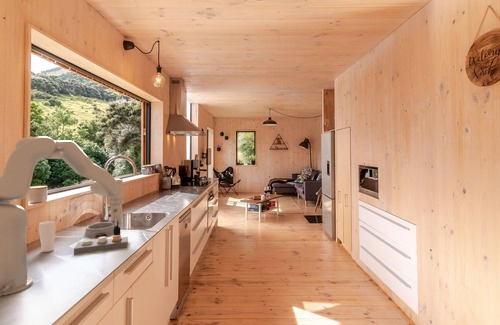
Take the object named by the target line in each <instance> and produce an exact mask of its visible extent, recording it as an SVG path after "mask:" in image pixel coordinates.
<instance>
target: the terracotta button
mask: <svg viewBox="0 0 500 325" xmlns="http://www.w3.org/2000/svg"><path fill="white" fill-rule="evenodd" d="M121 237H122V235H121V234H120V235H116V236H114V235H113V236H112V238H113V242H118V241H121Z"/></svg>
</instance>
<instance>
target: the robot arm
mask: <svg viewBox="0 0 500 325" xmlns="http://www.w3.org/2000/svg"><path fill="white" fill-rule="evenodd" d="M42 159H43V160H44V159H45V160H46V159H49V160H50V159H51V160H63V161H64V162H65V164H66V165H68V166H69V167H70V168H71V169H72V171H73V172H74V173H76V174H77V175H79V176H80V177H84V178H86V179H89V180H92V181H93V182H92V183H91V184H90V186H89V188H90V191H91V192H92V193H93V194H95V195H98V196H99V195H101V196H102V195H103V196H104V195H105V196H107V205H108V206H110V218H111V219H110V220H111V221H110V222H112V224H114V228H113V229H114V234H113V236H116V235H121V224H122V223H123V219H124V218H123V216H124V215H123V205H124V181H123V179H121V178H115V177H114V176H113V175H112V174H111V173H110V172H108V171H107V170H106V169H104V168H103V167H101V166H99V165H98V164H96V163H94V162H93V161H92V160H91V158H90V157H89V156H88V155H87V154H86V153H85V152H84V151H83V150H82V148H81V147H80V146H79V145H78V144H77V143H76V142H75V141H72V140H69V139H67V140H62V139H61V140H55V139H53V138H51V137H49V136H43V135H42V136H30V137H29V136H28V137H23V138H21V139H19V140H18V141H17V142H16V144H15V149H14V150H13V151H12V152H11V153H10V155H9V156H8V158H7V161H6V163H5V167H4V169H3V173H2V174H1V175H0V295H4V296H7V295H8V294H9V295H12V294H15V293H18V292H21V291H24V290H26V289H28V288H30V286H32V284H34V279H33V278H32V277H30V276H29V277H28V275H29V274H28V253H27V252H28V251H27V226H28V223H29V222H28V221H29V214H28V212H27V210H26V209H25V208H24V207H22V206H21V205H17V204H13V203H12V202H13V201H20V200H23V199H24V198H26V197H28V194H29V193H30V189H31V184H32V180H33V174H34V170H35V168H36V166H37V164H38V163H39V161H41V160H42Z"/></svg>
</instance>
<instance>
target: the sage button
mask: <svg viewBox="0 0 500 325" xmlns="http://www.w3.org/2000/svg"><path fill="white" fill-rule="evenodd" d="M92 241H93V240H91V239H86V240H83V241H82V242H83V246H86V245H92Z"/></svg>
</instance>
